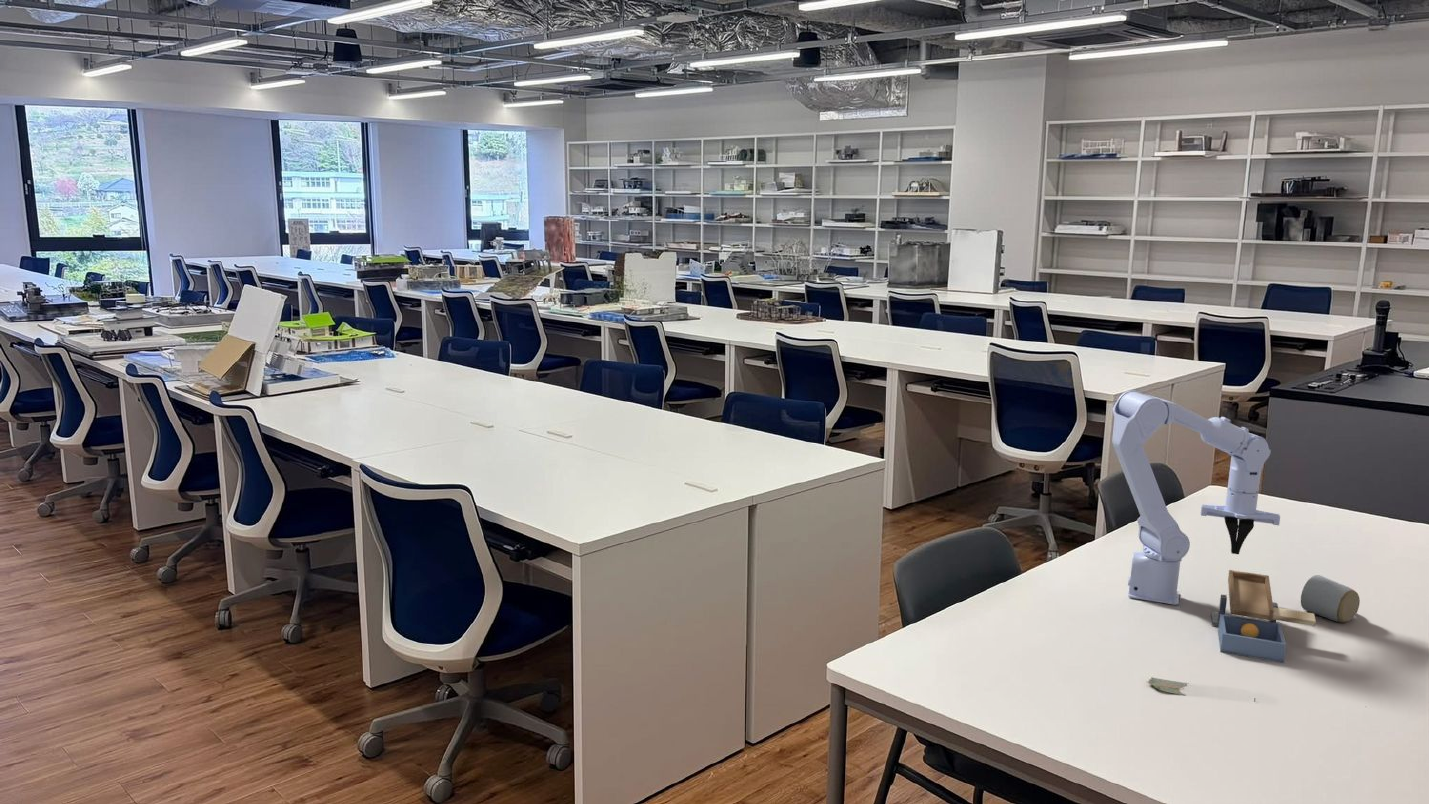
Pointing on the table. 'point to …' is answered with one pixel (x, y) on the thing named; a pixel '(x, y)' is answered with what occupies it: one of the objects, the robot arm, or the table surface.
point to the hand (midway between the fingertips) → (1234, 552)
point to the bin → (1251, 639)
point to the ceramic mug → (1329, 599)
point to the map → (1168, 685)
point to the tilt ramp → (1259, 600)
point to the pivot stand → (1222, 609)
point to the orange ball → (1249, 630)
